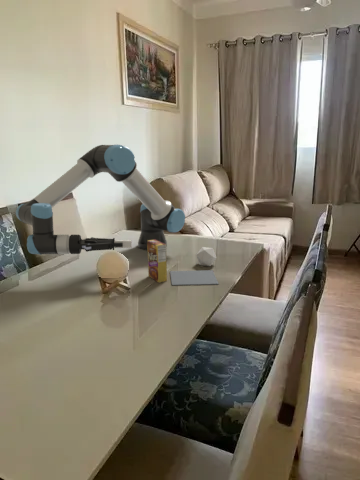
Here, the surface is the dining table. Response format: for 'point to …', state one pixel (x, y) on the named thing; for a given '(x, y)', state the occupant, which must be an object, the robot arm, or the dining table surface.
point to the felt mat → (193, 278)
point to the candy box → (157, 260)
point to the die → (206, 256)
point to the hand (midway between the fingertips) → (131, 243)
